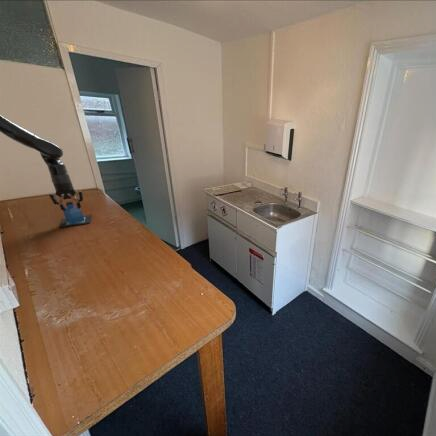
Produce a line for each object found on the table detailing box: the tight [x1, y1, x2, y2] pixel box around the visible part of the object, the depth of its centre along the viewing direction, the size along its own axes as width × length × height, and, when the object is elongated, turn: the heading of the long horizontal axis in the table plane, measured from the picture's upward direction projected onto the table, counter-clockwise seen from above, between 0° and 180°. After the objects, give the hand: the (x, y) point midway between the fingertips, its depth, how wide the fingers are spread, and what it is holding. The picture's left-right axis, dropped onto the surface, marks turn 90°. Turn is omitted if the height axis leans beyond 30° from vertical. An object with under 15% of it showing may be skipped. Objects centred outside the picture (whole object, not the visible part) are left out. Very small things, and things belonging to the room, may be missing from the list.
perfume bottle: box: [62, 200, 84, 224], centre depth 137 cm, size 6×6×12 cm
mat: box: [59, 215, 92, 229], centre depth 139 cm, size 13×13×1 cm
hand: (71, 209), depth 136 cm, fingers open, 6 cm apart
